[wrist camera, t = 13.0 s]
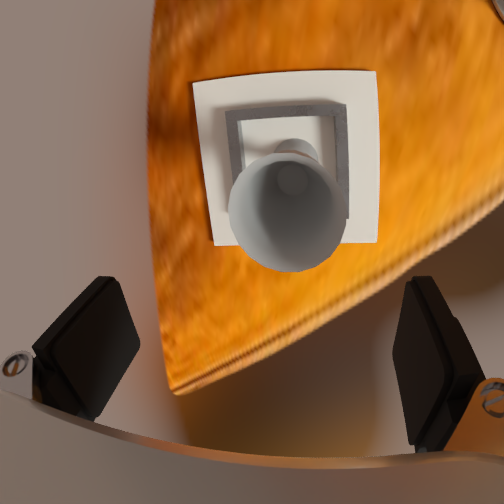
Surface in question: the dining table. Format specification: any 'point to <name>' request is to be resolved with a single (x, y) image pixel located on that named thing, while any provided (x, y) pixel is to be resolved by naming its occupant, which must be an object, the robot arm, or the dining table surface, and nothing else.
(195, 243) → the dining table surface
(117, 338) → the robot arm
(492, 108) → the dining table surface
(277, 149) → the chalice
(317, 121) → the board
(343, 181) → the collar
